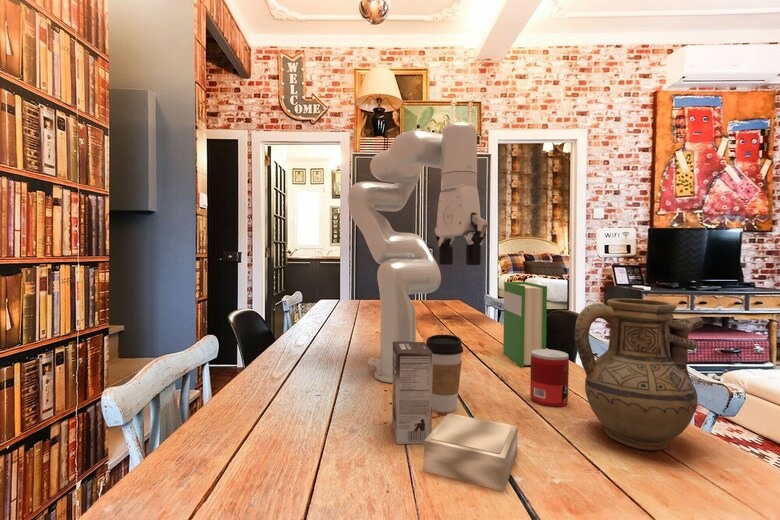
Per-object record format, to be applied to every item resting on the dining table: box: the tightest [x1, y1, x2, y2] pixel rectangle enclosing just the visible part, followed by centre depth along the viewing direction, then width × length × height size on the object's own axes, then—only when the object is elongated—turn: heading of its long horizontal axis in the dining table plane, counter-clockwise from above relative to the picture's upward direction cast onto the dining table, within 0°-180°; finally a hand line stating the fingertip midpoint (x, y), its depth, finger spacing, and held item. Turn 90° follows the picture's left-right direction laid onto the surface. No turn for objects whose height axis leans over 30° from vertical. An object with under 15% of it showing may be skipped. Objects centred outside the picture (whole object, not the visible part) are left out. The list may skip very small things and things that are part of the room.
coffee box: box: [391, 341, 433, 445], centre depth 76 cm, size 9×6×16 cm
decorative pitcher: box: [574, 298, 705, 451], centre depth 74 cm, size 22×18×25 cm
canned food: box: [529, 348, 570, 408], centre depth 93 cm, size 8×8×11 cm
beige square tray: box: [423, 412, 519, 492], centre depth 66 cm, size 12×12×5 cm
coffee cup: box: [425, 334, 464, 413], centre depth 89 cm, size 8×8×15 cm
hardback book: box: [502, 281, 548, 369], centre depth 129 cm, size 18×7×24 cm, turn 1°
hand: (459, 264), depth 87 cm, fingers open, 9 cm apart
